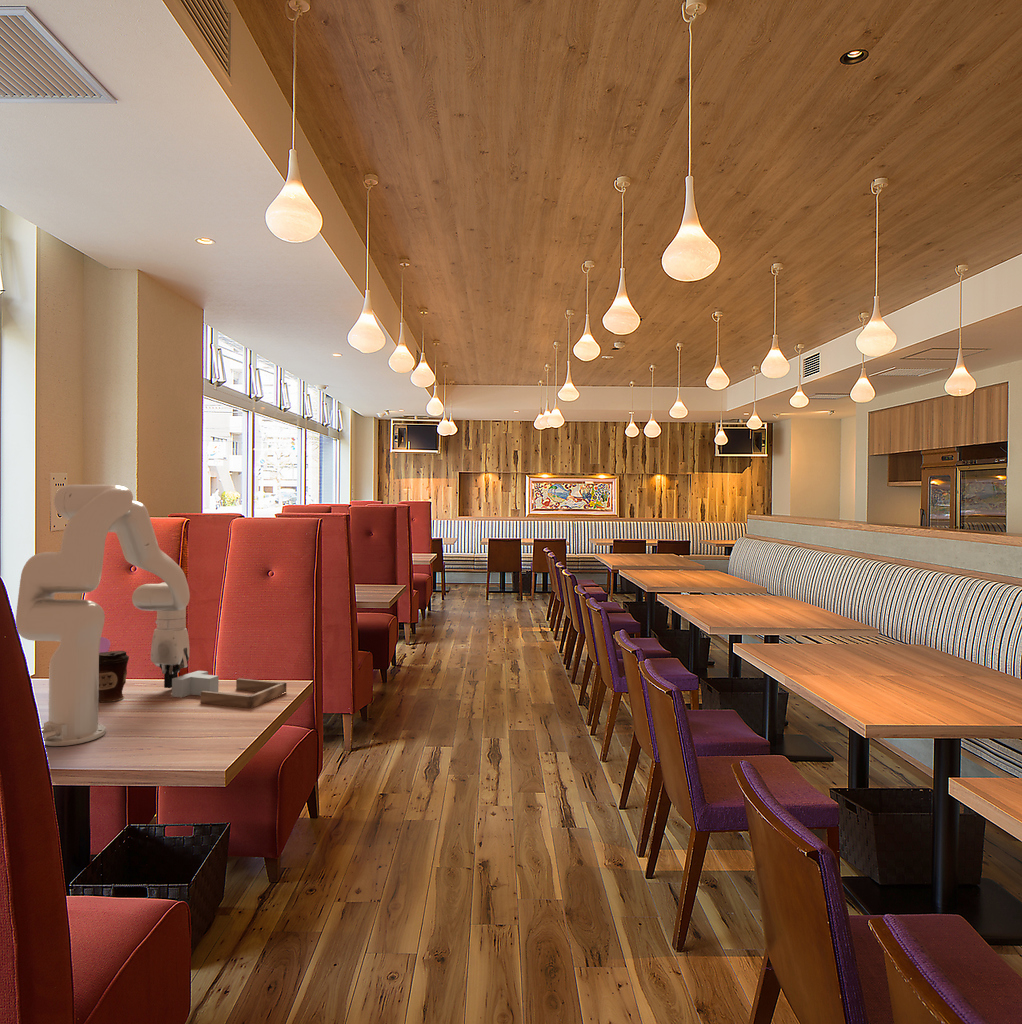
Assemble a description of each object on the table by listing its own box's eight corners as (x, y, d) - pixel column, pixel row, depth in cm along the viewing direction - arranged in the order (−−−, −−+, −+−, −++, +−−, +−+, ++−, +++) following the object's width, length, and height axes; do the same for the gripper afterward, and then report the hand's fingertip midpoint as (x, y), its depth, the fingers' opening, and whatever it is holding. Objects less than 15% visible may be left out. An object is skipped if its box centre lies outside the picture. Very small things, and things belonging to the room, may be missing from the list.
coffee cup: (115, 704, 175) (115, 656, 175) (84, 704, 175) (85, 655, 175) (134, 695, 184) (135, 649, 184) (105, 695, 184) (106, 649, 184)
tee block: (201, 699, 181) (201, 681, 181) (171, 696, 184) (172, 678, 184) (226, 690, 190) (226, 673, 190) (198, 687, 193) (198, 670, 193)
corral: (251, 708, 173) (251, 697, 173) (200, 702, 178) (200, 691, 178) (286, 693, 188) (286, 682, 188) (239, 688, 192) (239, 678, 192)
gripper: (140, 624, 188) (139, 688, 188) (182, 627, 184) (181, 692, 184) (160, 620, 196) (160, 681, 196) (202, 623, 191) (201, 685, 191)
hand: (170, 686), depth 190 cm, fingers closed
